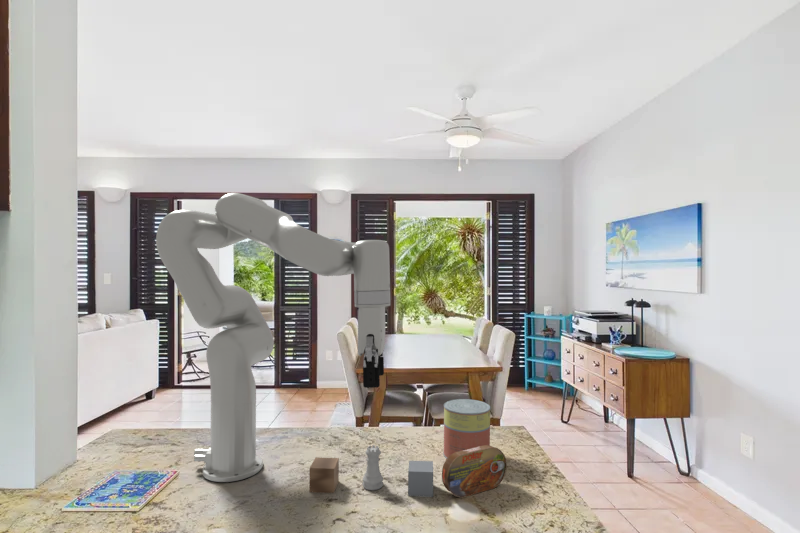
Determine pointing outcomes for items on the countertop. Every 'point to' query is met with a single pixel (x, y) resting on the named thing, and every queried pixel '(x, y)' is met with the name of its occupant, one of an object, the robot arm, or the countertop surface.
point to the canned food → (465, 425)
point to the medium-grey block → (420, 478)
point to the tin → (474, 470)
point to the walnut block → (324, 475)
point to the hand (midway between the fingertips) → (374, 380)
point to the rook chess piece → (372, 469)
